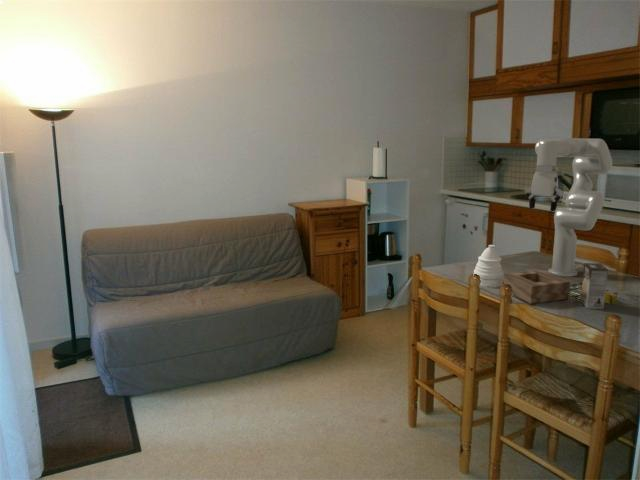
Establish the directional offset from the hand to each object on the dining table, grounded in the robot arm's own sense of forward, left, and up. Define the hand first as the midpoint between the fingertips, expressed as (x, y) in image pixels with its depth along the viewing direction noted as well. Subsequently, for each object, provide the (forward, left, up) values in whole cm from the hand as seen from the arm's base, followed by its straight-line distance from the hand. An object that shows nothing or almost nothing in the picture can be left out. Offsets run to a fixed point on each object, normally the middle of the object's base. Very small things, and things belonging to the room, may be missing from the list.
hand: (542, 209), depth 223 cm
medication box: (-12, +25, -35) cm, 44 cm away
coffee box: (-3, +29, -34) cm, 45 cm away
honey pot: (+19, -9, -34) cm, 40 cm away
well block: (+11, +13, -34) cm, 38 cm away
